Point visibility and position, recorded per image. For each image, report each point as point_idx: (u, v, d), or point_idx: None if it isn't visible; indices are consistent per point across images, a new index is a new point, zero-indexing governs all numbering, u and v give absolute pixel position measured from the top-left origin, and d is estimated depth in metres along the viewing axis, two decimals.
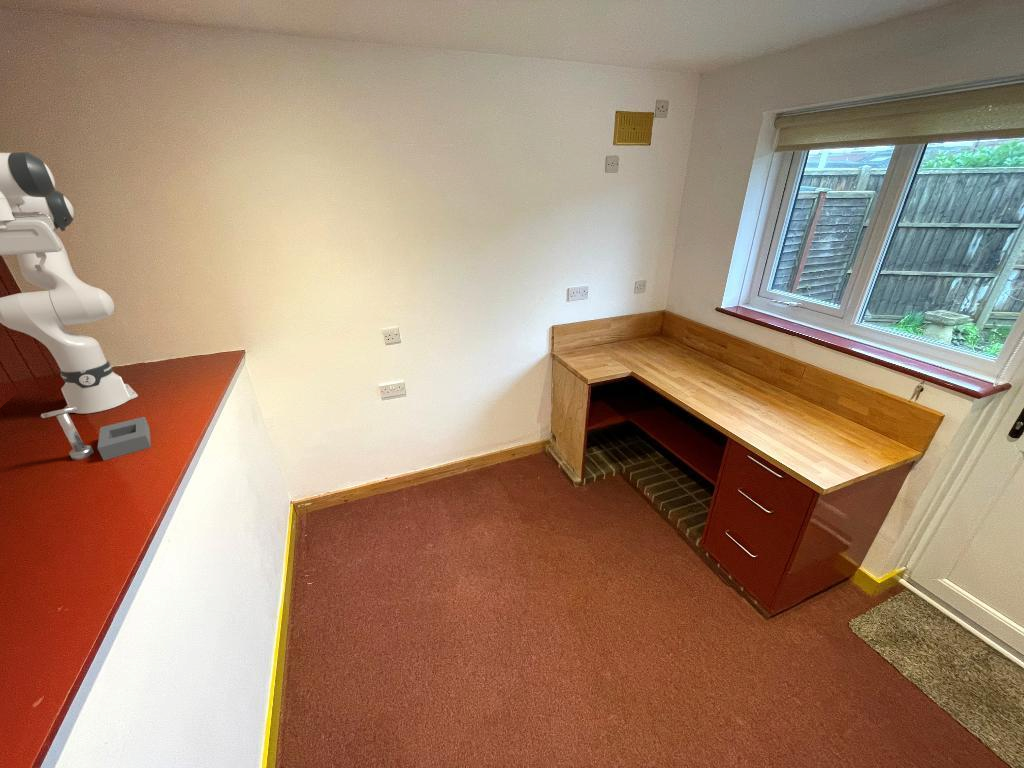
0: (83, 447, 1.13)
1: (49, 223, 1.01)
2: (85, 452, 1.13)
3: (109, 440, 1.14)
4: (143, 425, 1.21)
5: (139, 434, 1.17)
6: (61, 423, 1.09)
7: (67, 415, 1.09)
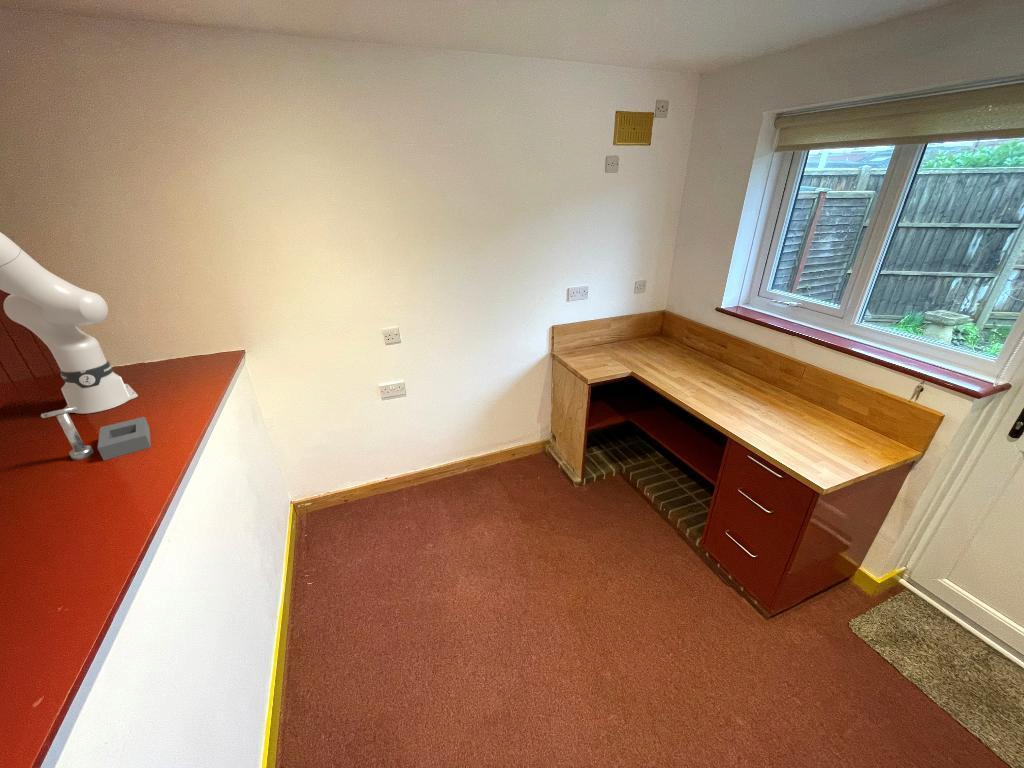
0: (83, 447, 1.13)
1: None
2: (85, 452, 1.13)
3: (109, 440, 1.14)
4: (143, 425, 1.21)
5: (139, 434, 1.17)
6: (61, 423, 1.09)
7: (67, 415, 1.09)
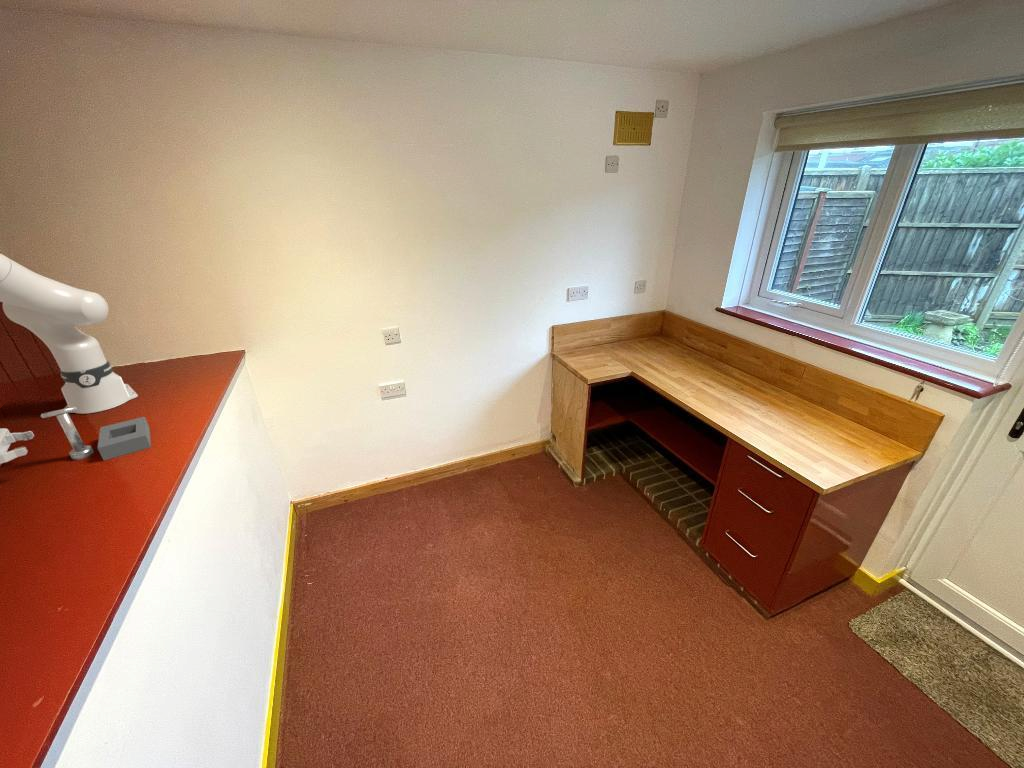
0: (83, 447, 1.13)
1: None
2: (85, 452, 1.13)
3: (109, 440, 1.14)
4: (143, 425, 1.21)
5: (139, 434, 1.17)
6: (61, 423, 1.09)
7: (67, 415, 1.09)
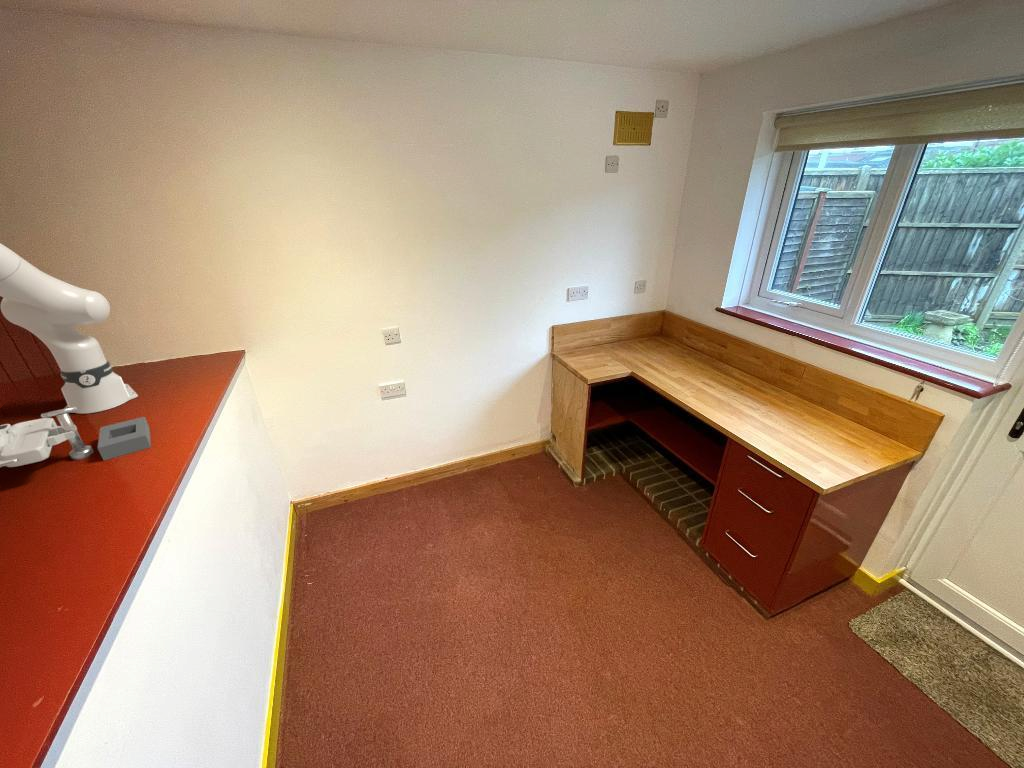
0: (83, 447, 1.13)
1: None
2: (85, 452, 1.13)
3: (109, 440, 1.14)
4: (143, 425, 1.21)
5: (139, 434, 1.17)
6: (61, 423, 1.09)
7: (67, 415, 1.09)
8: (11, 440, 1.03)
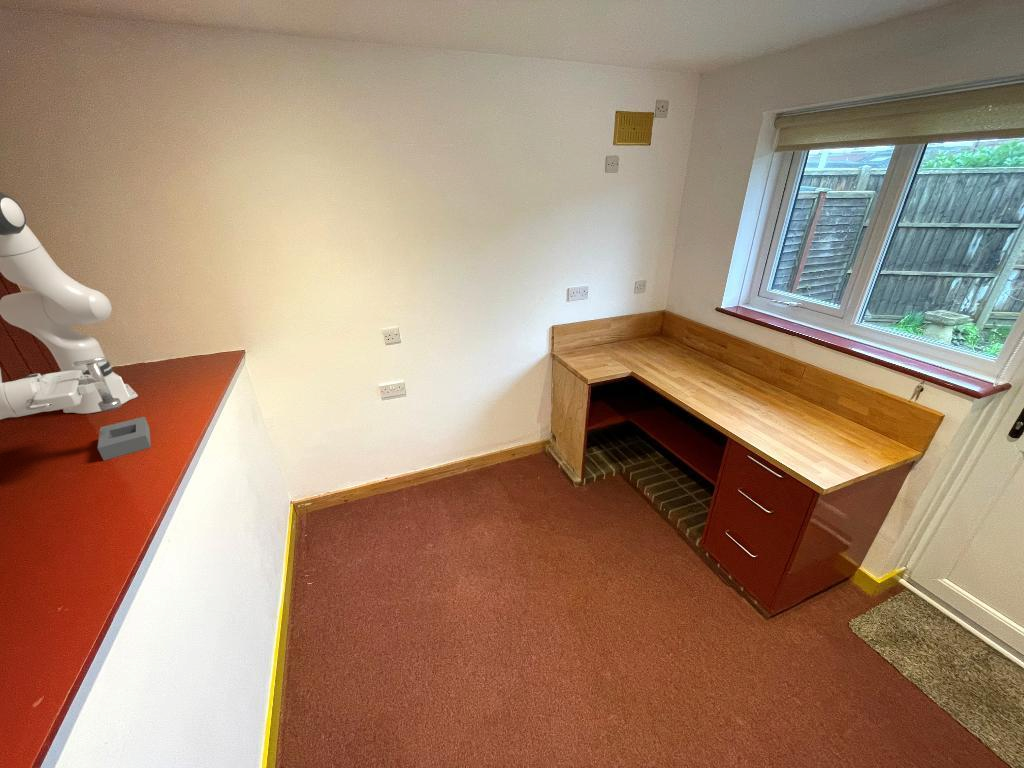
0: (112, 399, 1.14)
1: None
2: (114, 404, 1.13)
3: (109, 440, 1.14)
4: (143, 425, 1.21)
5: (139, 434, 1.17)
6: (91, 373, 1.09)
7: (97, 365, 1.10)
8: (43, 387, 1.03)
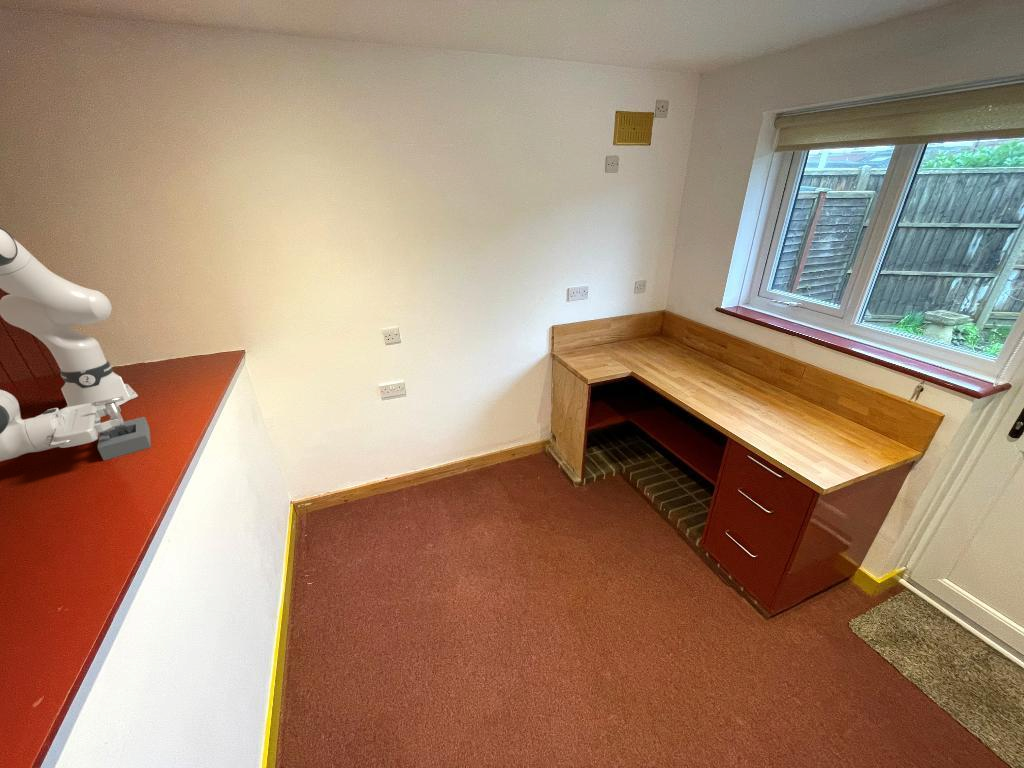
0: None
1: None
2: None
3: (109, 440, 1.14)
4: (143, 425, 1.21)
5: (139, 434, 1.17)
6: (109, 412, 1.14)
7: (115, 404, 1.15)
8: (62, 423, 1.08)
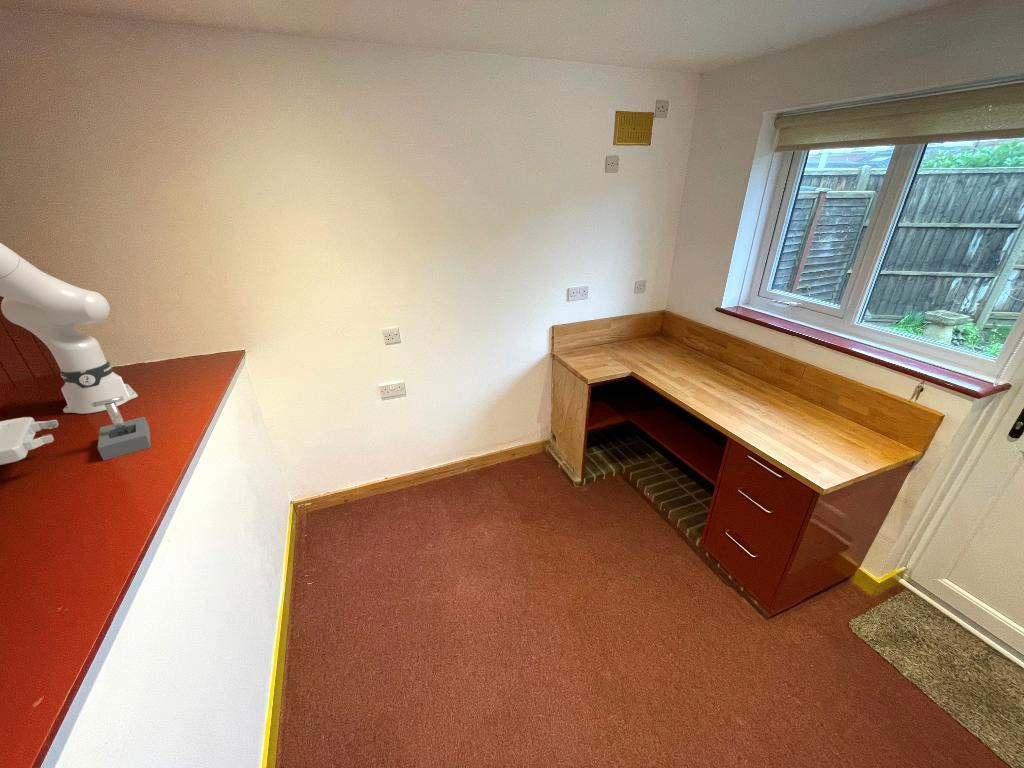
0: None
1: None
2: None
3: (109, 440, 1.14)
4: (143, 425, 1.21)
5: (139, 434, 1.17)
6: (109, 412, 1.14)
7: (115, 404, 1.15)
8: None
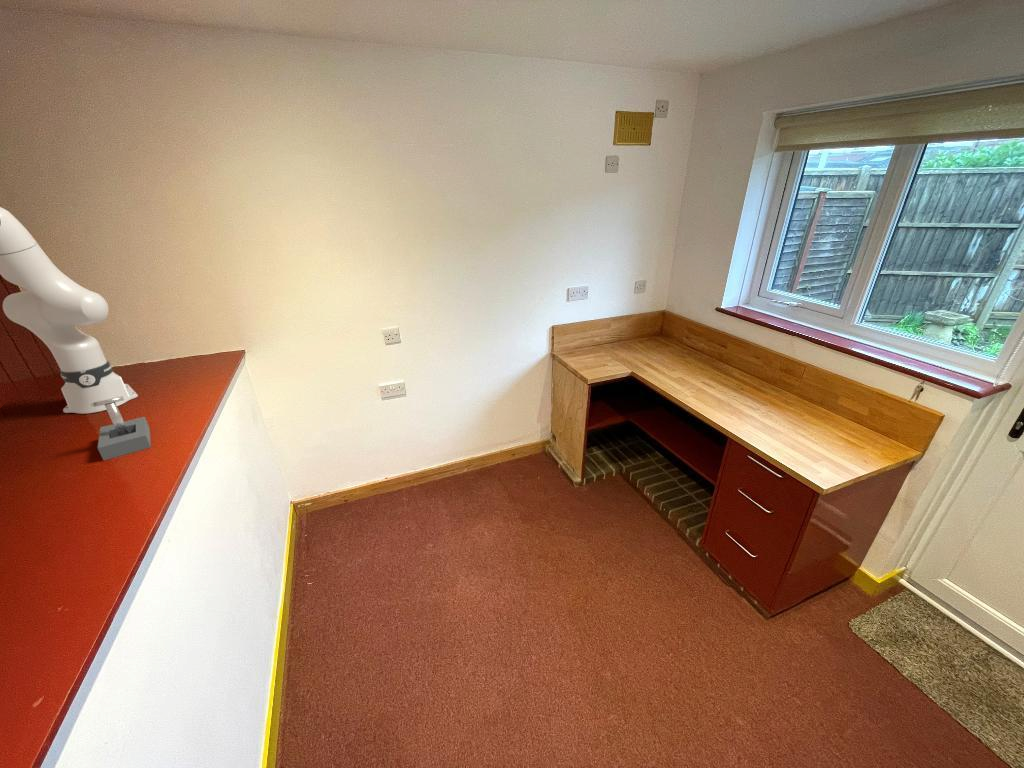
0: None
1: None
2: None
3: (109, 440, 1.14)
4: (143, 425, 1.21)
5: (139, 434, 1.17)
6: (109, 412, 1.14)
7: (115, 404, 1.15)
8: None
